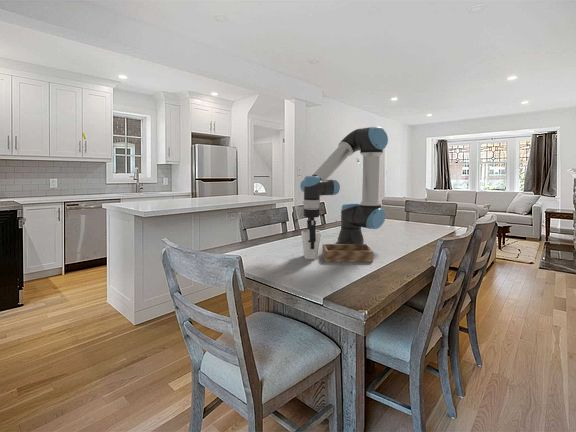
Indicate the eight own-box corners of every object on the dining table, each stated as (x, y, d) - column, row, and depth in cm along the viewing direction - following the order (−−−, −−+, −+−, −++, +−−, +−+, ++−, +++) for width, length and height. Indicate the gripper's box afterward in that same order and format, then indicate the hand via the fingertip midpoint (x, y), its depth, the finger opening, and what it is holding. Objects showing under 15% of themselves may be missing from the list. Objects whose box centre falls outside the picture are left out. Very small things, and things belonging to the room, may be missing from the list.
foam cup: (298, 259, 160) (298, 232, 158) (304, 254, 169) (304, 229, 167) (317, 261, 157) (318, 233, 155) (322, 256, 165) (323, 230, 164)
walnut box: (325, 261, 156) (326, 251, 155) (322, 253, 171) (322, 244, 170) (372, 261, 156) (373, 251, 155) (365, 253, 171) (365, 244, 170)
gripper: (302, 205, 172) (301, 246, 175) (305, 211, 147) (304, 258, 150) (317, 205, 172) (316, 246, 175) (322, 211, 147) (321, 258, 150)
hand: (310, 252), depth 162 cm, fingers open, 13 cm apart
